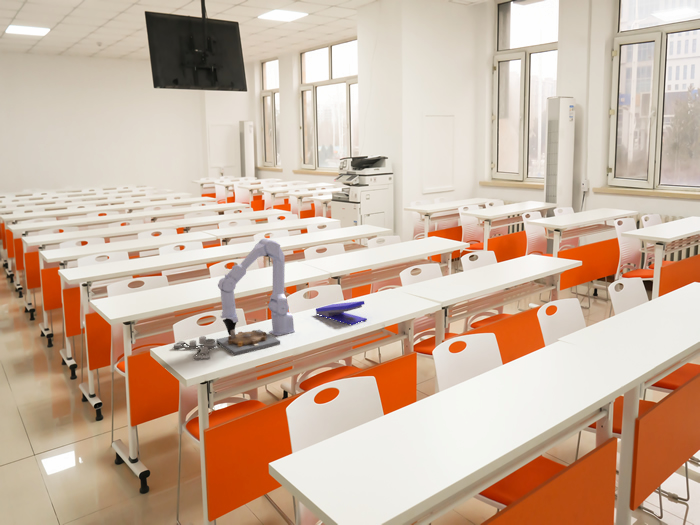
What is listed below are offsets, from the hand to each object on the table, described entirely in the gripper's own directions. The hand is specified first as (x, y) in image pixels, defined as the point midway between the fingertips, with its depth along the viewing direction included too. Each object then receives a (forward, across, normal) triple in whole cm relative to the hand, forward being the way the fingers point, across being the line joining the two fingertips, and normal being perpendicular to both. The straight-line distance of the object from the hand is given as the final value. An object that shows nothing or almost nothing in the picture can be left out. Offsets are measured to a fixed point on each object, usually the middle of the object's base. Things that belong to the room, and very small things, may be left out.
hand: (231, 334), depth 248 cm
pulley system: (+5, -2, -14) cm, 15 cm away
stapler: (+5, -1, +58) cm, 58 cm away
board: (+4, +4, +6) cm, 8 cm away
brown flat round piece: (+2, +4, +6) cm, 7 cm away
